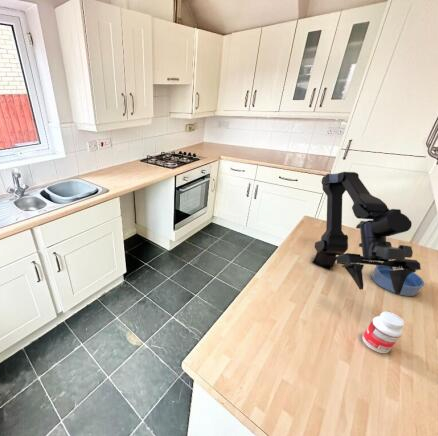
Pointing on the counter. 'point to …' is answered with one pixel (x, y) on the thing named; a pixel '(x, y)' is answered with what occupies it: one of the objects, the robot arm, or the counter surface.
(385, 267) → the bowl
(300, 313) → the counter surface
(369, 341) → the pill bottle
